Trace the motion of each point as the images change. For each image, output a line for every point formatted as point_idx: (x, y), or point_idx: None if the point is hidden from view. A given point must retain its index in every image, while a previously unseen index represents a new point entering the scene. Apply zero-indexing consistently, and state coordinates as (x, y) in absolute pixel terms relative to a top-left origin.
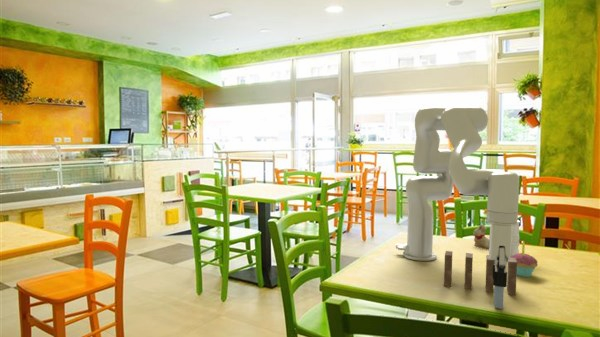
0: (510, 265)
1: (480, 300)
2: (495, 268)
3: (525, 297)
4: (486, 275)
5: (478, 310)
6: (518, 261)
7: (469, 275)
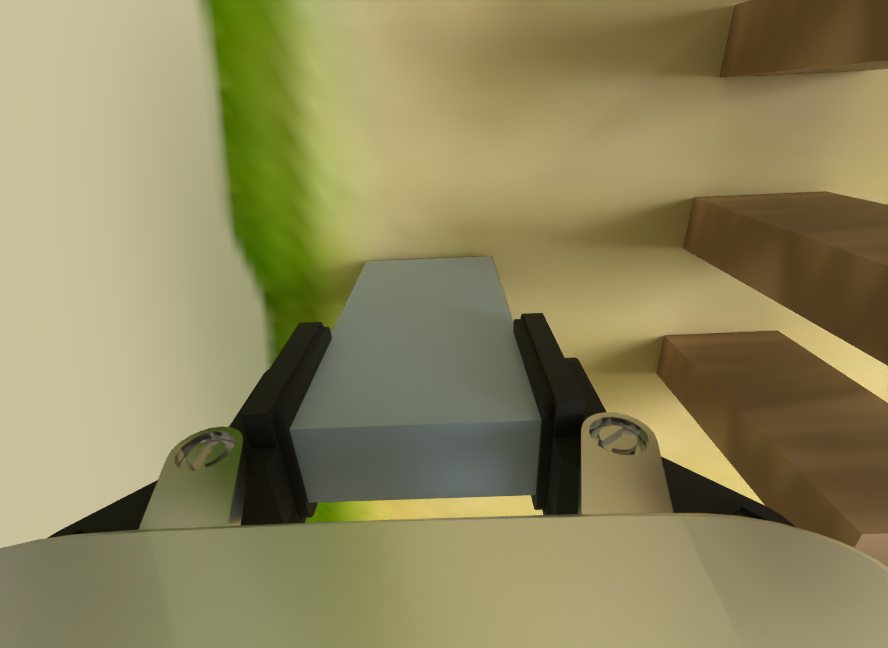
0: (818, 505)
1: (486, 162)
2: (162, 473)
3: (641, 416)
4: (790, 231)
5: (272, 155)
6: None
7: (834, 32)
